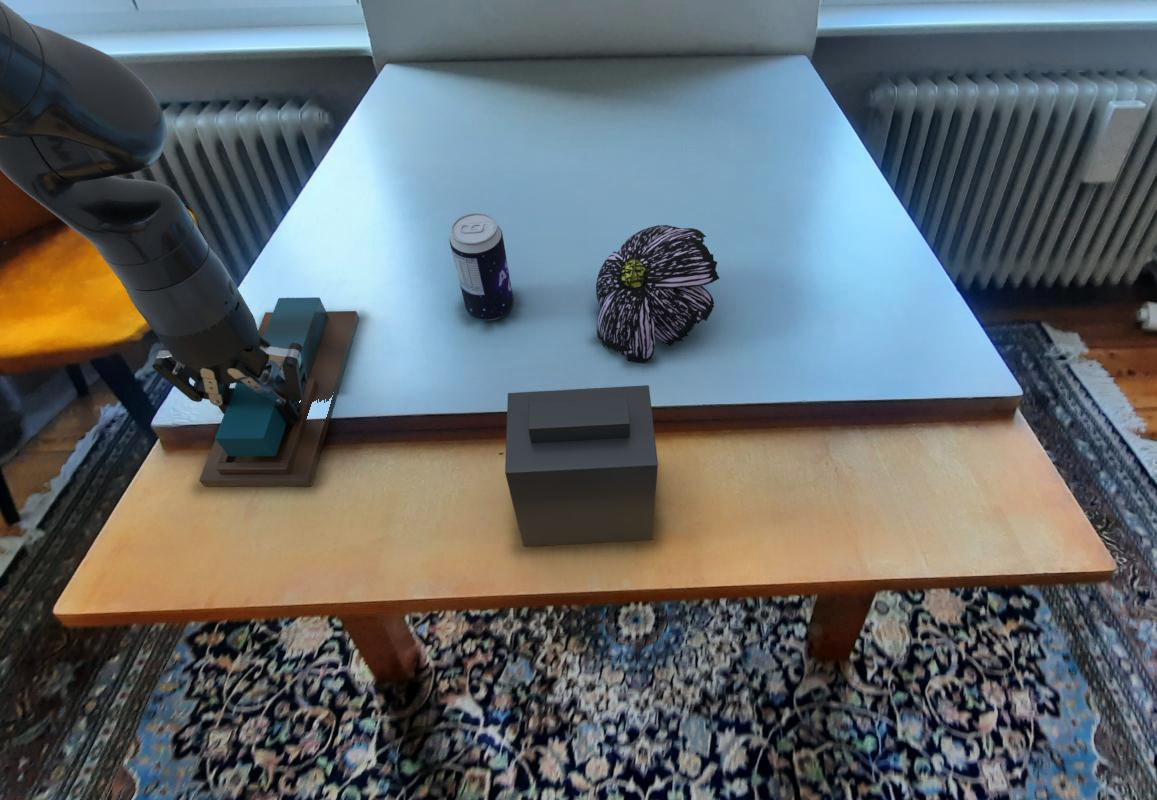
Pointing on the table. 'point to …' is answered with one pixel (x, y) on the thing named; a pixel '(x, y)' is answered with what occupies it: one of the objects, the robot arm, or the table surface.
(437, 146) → the table surface
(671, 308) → the decorative flower
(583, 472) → the pad stand
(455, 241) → the beverage can
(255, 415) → the back pad
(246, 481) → the brown flat rectangular board
